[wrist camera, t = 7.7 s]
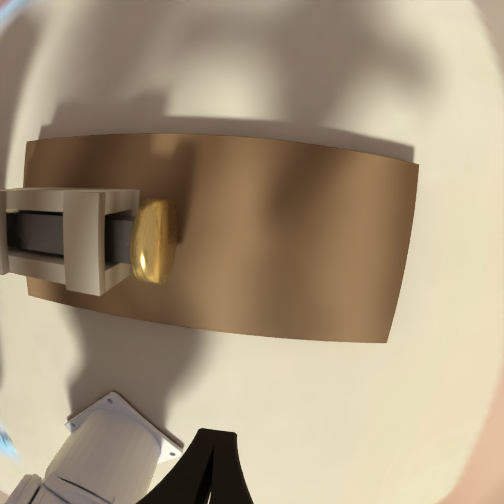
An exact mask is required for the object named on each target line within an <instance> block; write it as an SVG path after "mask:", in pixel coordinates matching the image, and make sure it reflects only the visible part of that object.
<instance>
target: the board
mask: <svg viewBox="0 0 504 504" xmlns="http://www.w3.org/2000/svg"><path fill="white" fill-rule="evenodd" d="M418 171H419V164H415V163H410V162H406V161H402V160H397V159H393V158H388V157H383V156H378V155H373V154H368V153H363V152H357V151H352V150H346V149H340V148H334V147H327V146H320V145H313V144H306V143H298V142H290V141H282V140H272V139H262V138H251V137H238V136H223V135H204V134H166V133H146V134H109V135H90V136H76V137H65V138H54V139H45V140H36V141H29V142H27V144H26V154H25V166H24V183H23V188H16V189H5V190H0V274H1V275H4V274H7V273H9V272H11V273H15V274H19V275H24V276H26V278H27V287H28V294H29V295H30V296H33V297H37V298H41V299H45V300H49V301H53V302H57V303H61V304H66V305H70V306H74V307H79V308H83V309H88V310H93V311H97V312H102V313H107V314H112V315H117V316H122V317H128V318H133V319H139V320H144V321H150V322H156V323H162V324H169V325H175V326H182V327H189V328H196V329H203V330H211V331H219V332H227V333H235V334H245V335H254V336H264V337H275V338H288V339H301V340H316V341H335V342H360V343H387V339H388V336H389V332H390V329H391V325H392V321H393V318H394V314H395V310H396V306H397V302H398V297H399V293H400V289H401V284H402V279H403V275H404V270H405V265H406V260H407V254H408V249H409V243H410V237H411V230H412V224H413V217H414V209H415V201H416V192H417V182H418ZM146 199H162V200H171V201H172V202H173V204H174V206H175V209H176V213H177V225H178V231H177V245H176V252H175V258H174V262H173V266H172V269H171V272H170V275H169V277H168V279H167V280H166V281H165V282H164V283H163V284H158V283H150V282H143V281H139V280H138V279H137V278H136V276H135V274H134V272H133V269H132V265H131V264H126V263H118V262H111V261H105V253H104V228H105V215H106V214H117V215H131V216H136V214H137V211H138V209H139V207H140V206H141V204H142V203H143V202H144V201H145V200H146ZM6 209H16V210H35V211H53V212H63V246H64V255H61V254H54V253H47V252H41V251H34V250H28V249H21V248H15V247H9V246H7V231H6Z"/></svg>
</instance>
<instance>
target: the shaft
mask: <svg viewBox="0 0 504 504" xmlns="http://www.w3.org/2000/svg"><path fill="white" fill-rule="evenodd" d="M6 231H7V246H9V247H15V248H21V249H28V250H34V251H41V252H47V253H54V254H61V255H64V246H63V212H53V211H35V210H16V209H6ZM177 231H178V225H177V213H176V209H175V206H174V204H173V202H172V201H171V200H162V199H146V200H145V201H144V202H143V203H142V204H141V206H140V207H139V209H138V211H137V214H136V216H131V215H117V214H106V215H105V228H104V253H105V261H111V262H118V263H126V264H131V265H132V269H133V272H134V274H135V276H136V278H137V279H138V280H139V281H143V282H150V283H158V284H163V283H164V282H165V281H166V280H167V279H168V277H169V275H170V272H171V269H172V266H173V262H174V258H175V252H176V245H177Z"/></svg>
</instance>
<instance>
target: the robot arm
mask: <svg viewBox="0 0 504 504" xmlns="http://www.w3.org/2000/svg"><path fill="white" fill-rule="evenodd" d="M110 399H111V400H112V401H111V400H110ZM65 426H66V428H67V429H68V430H69V431H70V432H71V435H70V436H69V437H68V439H67V440H66V442H65V443H64V444H63V446H62V447H61V449H60V450H59V452H58V453H57V455H56V456H55V457H54V459H53V460H52V462H51V463H50V465H49V466H48V468H47V470H46V473H45V478H44V479H43V480H42V478H40V477H39V476H38V475H37V474H33V475H28V474H26V475H25V476H24V477H23V479H22V480H21V481H20V483H19V484H18V486H17V487H16V488H15V490H14V491H13V493H12V494H11V495H10V497H9V498H8V500H7V501H6V503H5V504H207V503H208V500H209V496H210V493H211V497H210V502H209V504H254V503H253V501H252V498H251V496H250V493H249V491H248V488H247V485H246V482H245V479H244V476H243V472H242V469H241V465H240V461H239V455H238V449H237V434H236V433H235V432H227V431H219V430H212V429H205V428H201V429H199V430H198V432H197V434H196V436H195V437H194V439H193V441H192V443H191V444H190V446H189V447H188V449H187V450H186V452H185V453H184V454H183V456H182V457H181V458H180V460H179V461H178V462H177V464H176V465H175V466H174V467H173V468H172V470H171V471H170V472H169V473H168V474H167V475H166V476H165V477H164V478H163V480H162V481H161V482H160V483H159V484H158V485H157V486H156V487H155V488H154V489H152V490H151V491H150V492H149V493H148V494H147V495H146V493H147V490H148V488H149V485H150V482H151V479H152V477H153V474H154V471H155V468H156V466H157V464H160V463H163V462H165V461H168V460H170V459H173V458H175V457H178V456H180V455H182V452H183V450H182V449H181V448H180V447H179V446H178V445H176V444H175V443H174V442H172V441H171V440H170V439H169V438H167V437H166V436H165V435H164V434H162V433H161V432H160V431H159V430H158V429H156V428H155V427H154V426H153V425H152V424H150V423H149V422H148V421H147V420H146V419H145V418H143V417H142V416H141V415H140V414H139V413H138V412H137V411H136V410H134V409H133V408H132V407H131V406H130V405H129V404H128V403H127V402H126V401H125V400H124V399H123V398H122V397H120V396H119V395H118V394H117V393H115V392H110V393H109V394H107V395H106V396H104V397H103V398H101V399H100V400H99V401H97V402H96V403H94V404H93V405H91V406H90V407H88V408H87V409H85V410H84V411H83V412H81V413H80V414H78V415H77V416H75V417H74V418H72V419H71V420H69V421H68V422H67V423H66V424H65ZM41 480H42V481H41Z"/></svg>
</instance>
